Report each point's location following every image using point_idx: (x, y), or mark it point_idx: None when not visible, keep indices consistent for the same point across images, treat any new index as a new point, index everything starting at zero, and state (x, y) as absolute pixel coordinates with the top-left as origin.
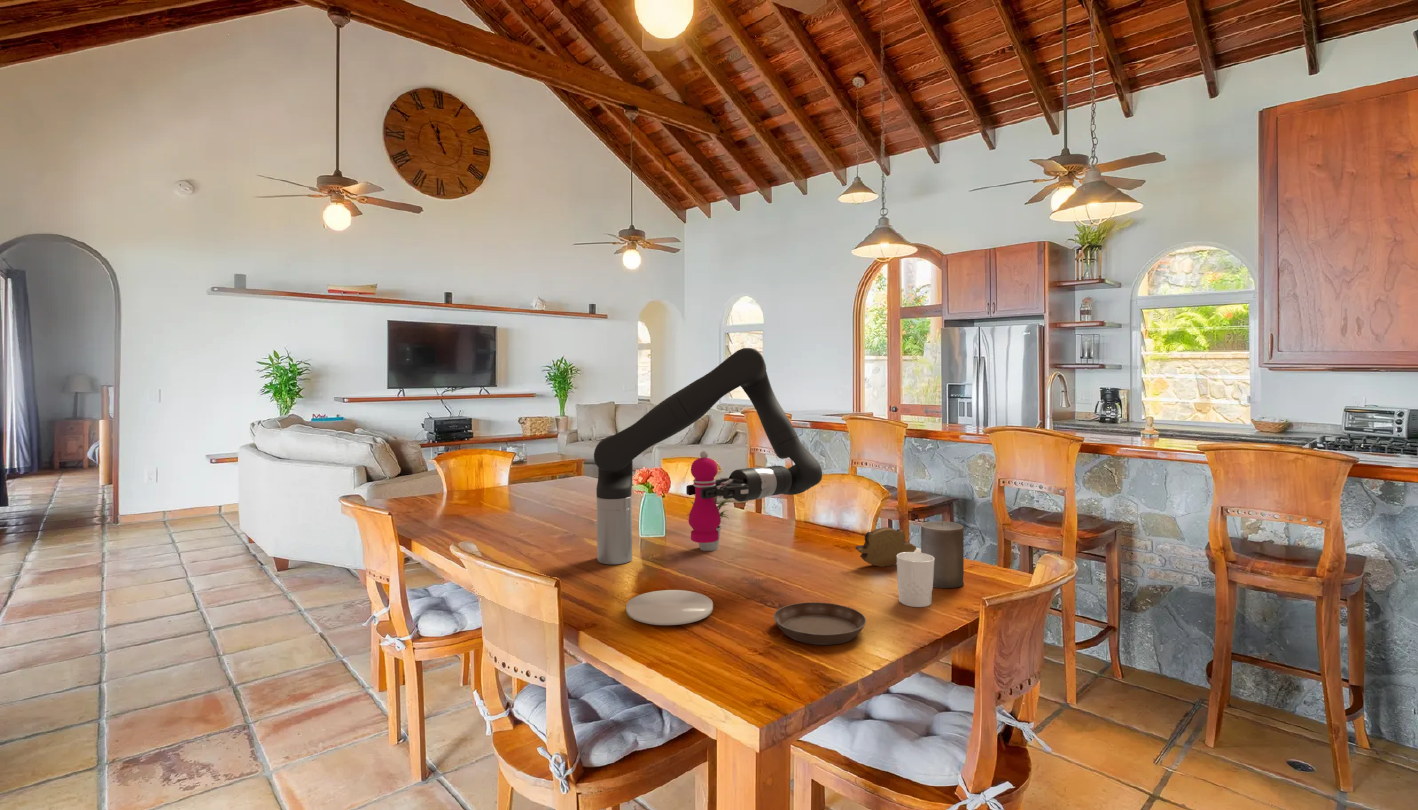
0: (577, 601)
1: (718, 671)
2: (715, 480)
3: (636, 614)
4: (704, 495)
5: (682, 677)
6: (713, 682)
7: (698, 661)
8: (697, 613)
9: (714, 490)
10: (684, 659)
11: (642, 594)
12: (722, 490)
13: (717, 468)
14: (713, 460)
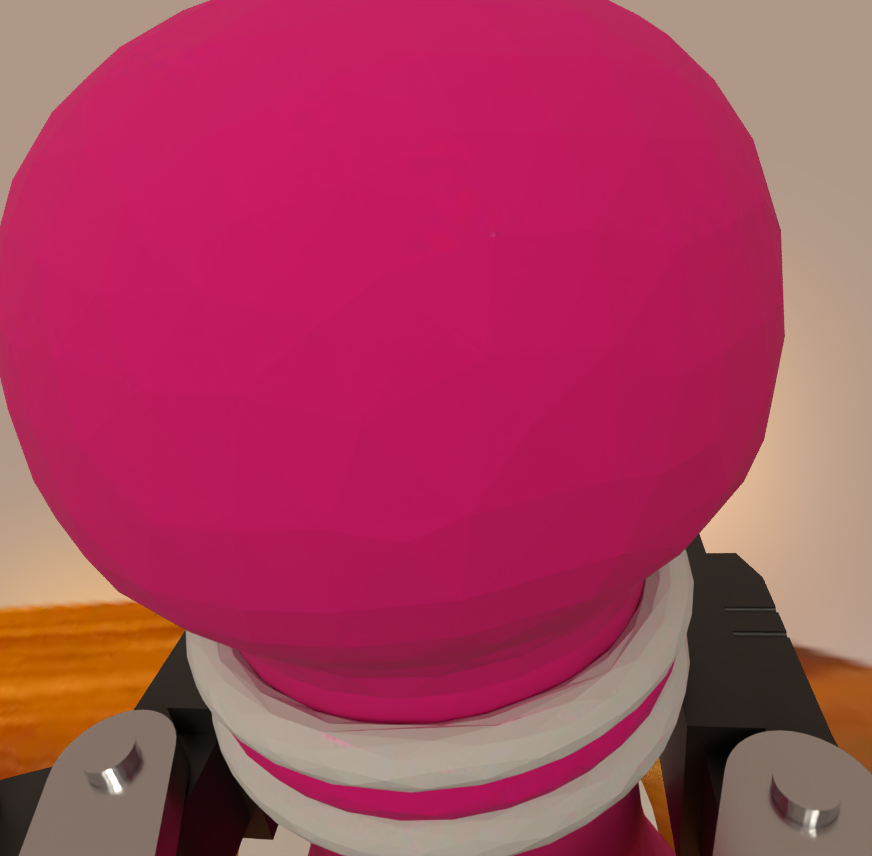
0: (798, 655)
1: (32, 683)
2: (211, 705)
3: None
4: None
5: (113, 616)
6: (28, 646)
7: (109, 680)
8: (260, 846)
9: (163, 679)
10: (152, 663)
11: (647, 810)
12: (13, 785)
13: (13, 424)
14: (72, 101)
